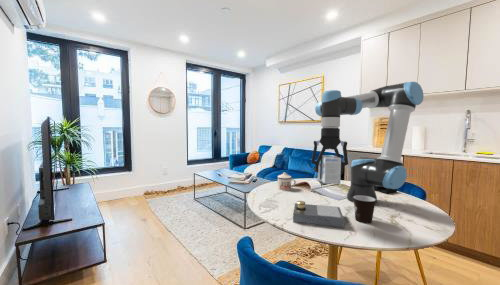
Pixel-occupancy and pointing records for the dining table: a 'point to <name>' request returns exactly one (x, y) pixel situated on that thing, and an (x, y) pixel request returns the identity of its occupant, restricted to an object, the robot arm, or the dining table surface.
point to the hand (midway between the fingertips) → (328, 180)
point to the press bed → (319, 215)
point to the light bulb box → (330, 169)
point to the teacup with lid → (285, 182)
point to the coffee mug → (364, 208)
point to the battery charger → (384, 190)
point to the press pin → (301, 205)
